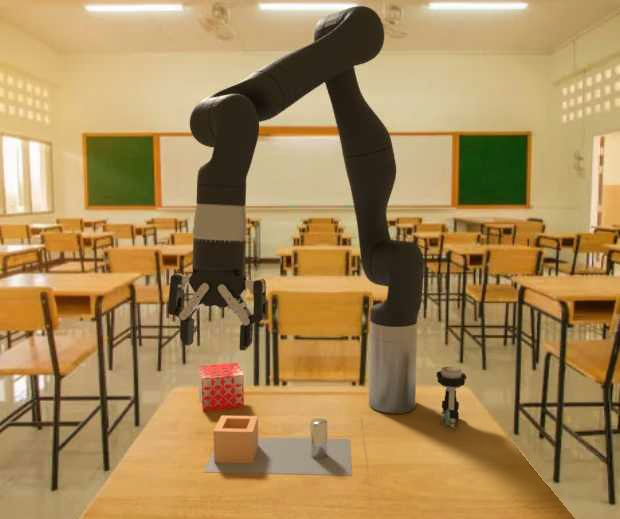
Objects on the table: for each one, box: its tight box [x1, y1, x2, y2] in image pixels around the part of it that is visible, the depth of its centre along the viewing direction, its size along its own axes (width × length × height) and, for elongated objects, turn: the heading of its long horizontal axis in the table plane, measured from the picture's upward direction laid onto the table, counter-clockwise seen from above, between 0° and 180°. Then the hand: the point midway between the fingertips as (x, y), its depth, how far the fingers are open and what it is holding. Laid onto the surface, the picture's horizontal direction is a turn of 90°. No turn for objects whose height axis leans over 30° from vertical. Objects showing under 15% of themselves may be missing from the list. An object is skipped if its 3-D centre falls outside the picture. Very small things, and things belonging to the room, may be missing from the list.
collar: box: [213, 415, 259, 463], centre depth 88 cm, size 6×6×5 cm
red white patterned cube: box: [198, 362, 245, 411], centre depth 110 cm, size 8×8×8 cm
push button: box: [436, 366, 467, 428], centre depth 103 cm, size 7×5×10 cm
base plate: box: [203, 436, 353, 477], centre depth 88 cm, size 12×22×2 cm, turn 88°
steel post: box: [310, 418, 328, 459], centre depth 88 cm, size 3×3×7 cm
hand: (215, 346), depth 82 cm, fingers open, 8 cm apart
